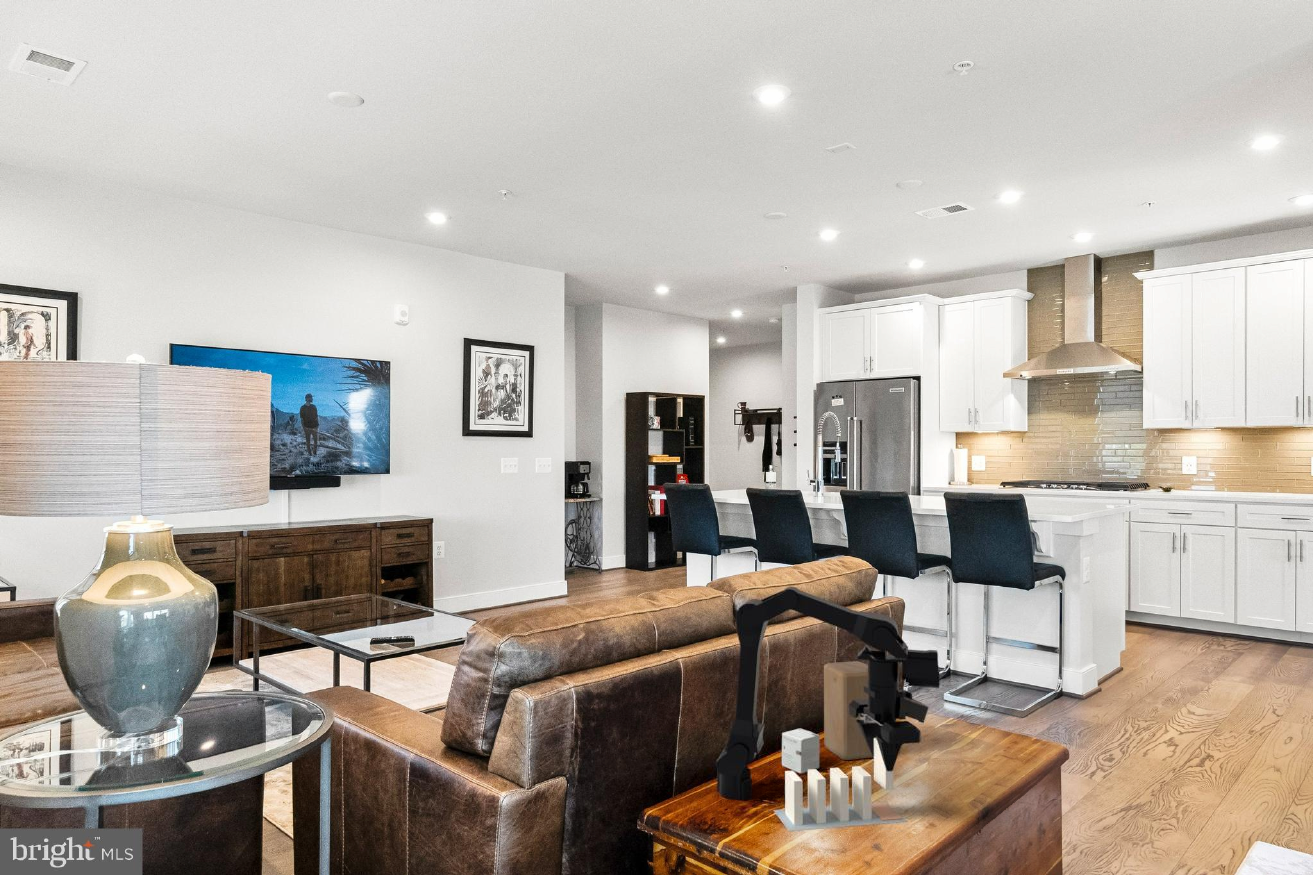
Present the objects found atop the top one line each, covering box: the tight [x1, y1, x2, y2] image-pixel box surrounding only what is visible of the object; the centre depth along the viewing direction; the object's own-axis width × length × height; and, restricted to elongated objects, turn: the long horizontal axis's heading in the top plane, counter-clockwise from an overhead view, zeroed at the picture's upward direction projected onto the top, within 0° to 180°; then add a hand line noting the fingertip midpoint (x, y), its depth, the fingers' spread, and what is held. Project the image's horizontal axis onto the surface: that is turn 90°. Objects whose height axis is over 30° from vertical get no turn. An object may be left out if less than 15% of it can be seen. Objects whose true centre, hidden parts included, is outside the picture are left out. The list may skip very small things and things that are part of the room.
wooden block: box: [823, 660, 873, 761], centre depth 191 cm, size 10×10×20 cm
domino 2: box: [807, 769, 827, 824], centre depth 153 cm, size 2×5×8 cm, turn 10°
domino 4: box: [851, 765, 872, 820], centre depth 155 cm, size 2×5×8 cm, turn 10°
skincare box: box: [781, 727, 821, 774], centre depth 182 cm, size 6×6×7 cm
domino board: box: [773, 801, 908, 832], centre depth 154 cm, size 23×9×1 cm, turn 100°
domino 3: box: [829, 767, 850, 822], centre depth 154 cm, size 2×5×8 cm, turn 10°
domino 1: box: [784, 770, 804, 825], centre depth 153 cm, size 2×5×8 cm, turn 10°
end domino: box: [873, 738, 895, 791], centre depth 156 cm, size 2×5×8 cm, turn 10°
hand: (883, 765), depth 156 cm, fingers closed on end domino, 5 cm apart
